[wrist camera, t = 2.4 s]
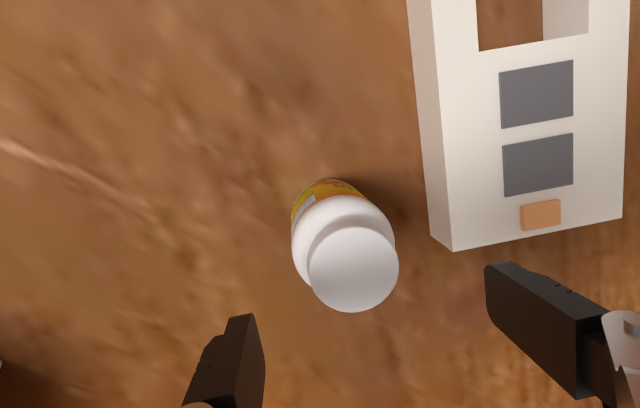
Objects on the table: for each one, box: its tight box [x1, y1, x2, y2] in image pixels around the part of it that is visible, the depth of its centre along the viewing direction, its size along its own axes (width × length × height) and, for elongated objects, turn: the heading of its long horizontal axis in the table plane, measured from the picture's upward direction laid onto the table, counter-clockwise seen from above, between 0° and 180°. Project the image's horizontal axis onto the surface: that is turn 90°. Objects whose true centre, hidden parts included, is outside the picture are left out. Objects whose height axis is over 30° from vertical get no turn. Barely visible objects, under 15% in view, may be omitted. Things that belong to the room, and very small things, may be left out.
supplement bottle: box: [291, 179, 399, 312], centre depth 19 cm, size 5×5×10 cm
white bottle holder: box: [406, 0, 630, 252], centre depth 21 cm, size 20×12×4 cm, turn 10°
